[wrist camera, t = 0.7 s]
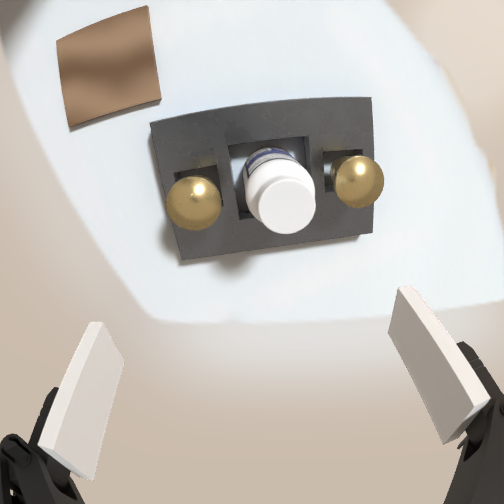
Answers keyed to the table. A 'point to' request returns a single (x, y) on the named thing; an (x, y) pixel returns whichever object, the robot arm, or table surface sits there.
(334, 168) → the plunger
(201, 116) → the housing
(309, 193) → the pill bottle
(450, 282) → the table surface
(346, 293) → the table surface
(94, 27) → the coaster
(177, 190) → the plunger
